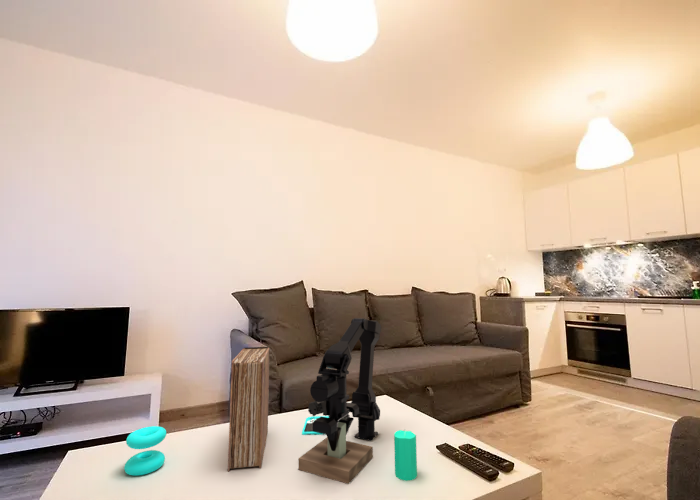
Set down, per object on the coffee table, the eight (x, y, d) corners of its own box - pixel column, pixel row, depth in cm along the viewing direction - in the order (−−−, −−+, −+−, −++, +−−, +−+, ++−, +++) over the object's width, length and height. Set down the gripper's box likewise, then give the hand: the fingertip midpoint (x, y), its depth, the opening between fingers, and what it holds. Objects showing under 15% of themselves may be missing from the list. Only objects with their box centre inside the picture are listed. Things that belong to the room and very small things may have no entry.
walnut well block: (327, 446, 109) (327, 436, 110) (372, 457, 102) (372, 446, 103) (298, 469, 95) (298, 458, 96) (348, 483, 88) (348, 471, 88)
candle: (417, 481, 89) (415, 433, 90) (394, 479, 90) (393, 432, 92) (417, 470, 95) (415, 425, 96) (395, 468, 96) (394, 423, 97)
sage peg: (334, 452, 102) (334, 421, 103) (346, 455, 100) (345, 423, 101) (327, 458, 98) (327, 425, 99) (339, 461, 96) (339, 428, 98)
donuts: (163, 435, 95) (122, 441, 91) (161, 473, 94) (119, 480, 90) (169, 422, 104) (131, 427, 101) (167, 457, 103) (129, 463, 99)
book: (261, 469, 96) (263, 360, 99) (227, 472, 94) (231, 361, 98) (267, 432, 121) (269, 346, 124) (241, 434, 119) (243, 347, 123)
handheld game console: (332, 419, 134) (332, 415, 135) (330, 436, 119) (330, 432, 119) (306, 419, 134) (306, 415, 134) (301, 436, 118) (301, 432, 119)
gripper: (329, 381, 113) (329, 430, 111) (296, 397, 97) (295, 455, 95) (359, 385, 108) (360, 437, 106) (330, 403, 92) (330, 464, 90)
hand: (337, 447), depth 99 cm, fingers closed on sage peg, 4 cm apart
